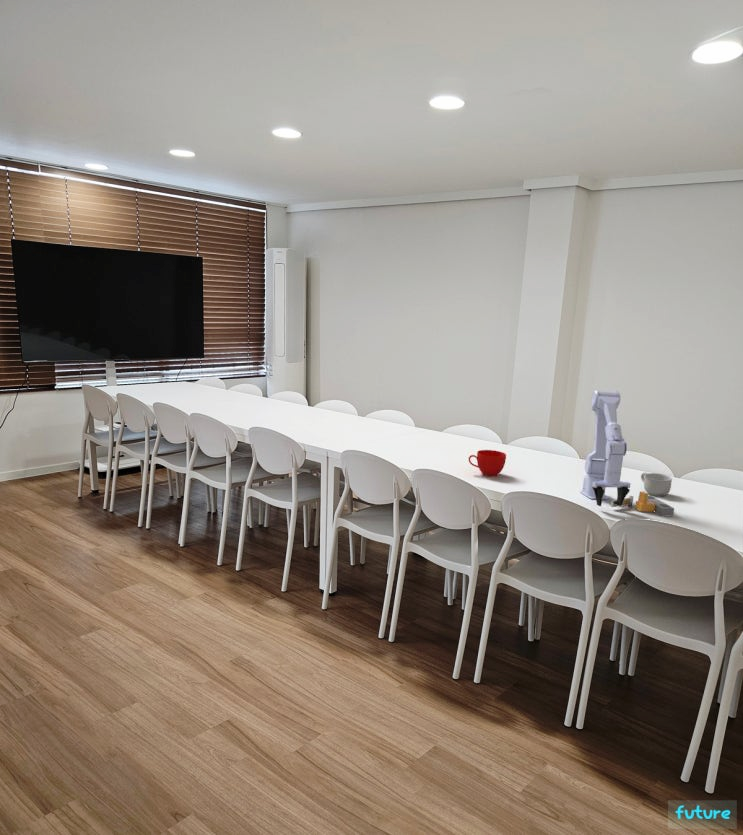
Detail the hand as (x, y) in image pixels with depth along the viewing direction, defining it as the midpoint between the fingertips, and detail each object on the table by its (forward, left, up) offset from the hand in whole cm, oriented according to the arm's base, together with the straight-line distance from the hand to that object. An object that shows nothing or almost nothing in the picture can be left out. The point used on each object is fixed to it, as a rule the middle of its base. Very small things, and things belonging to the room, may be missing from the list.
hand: (608, 505), depth 237 cm
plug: (0, +15, -2) cm, 16 cm away
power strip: (-2, +21, -2) cm, 21 cm away
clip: (-3, +7, -2) cm, 8 cm away
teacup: (-23, +34, -2) cm, 41 cm away
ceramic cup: (-48, -33, -2) cm, 59 cm away
